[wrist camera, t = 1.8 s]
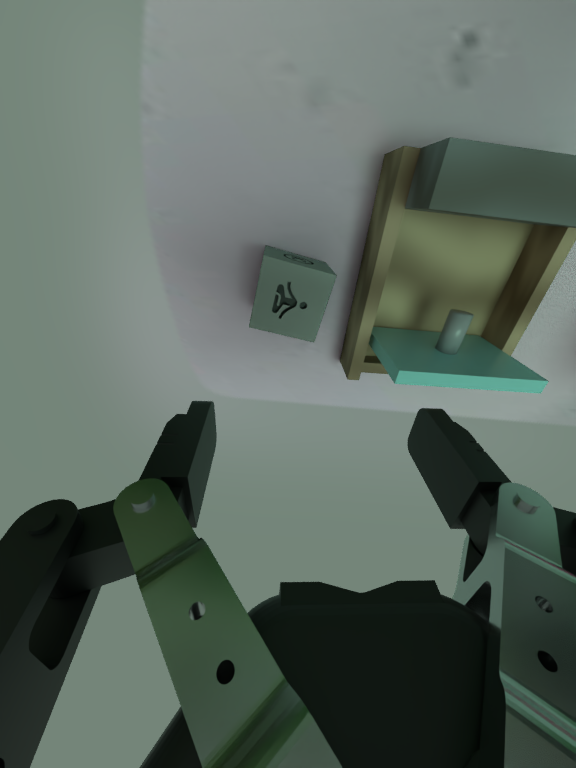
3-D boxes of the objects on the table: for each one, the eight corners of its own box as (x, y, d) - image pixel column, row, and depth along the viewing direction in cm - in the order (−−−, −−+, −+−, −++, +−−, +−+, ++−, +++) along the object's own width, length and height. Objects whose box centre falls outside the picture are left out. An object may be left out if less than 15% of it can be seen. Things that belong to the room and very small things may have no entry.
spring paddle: (375, 291, 24) (414, 326, 17) (494, 303, 25) (575, 340, 18) (363, 336, 26) (394, 383, 19) (474, 345, 27) (540, 393, 20)
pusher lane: (384, 154, 20) (430, 134, 14) (563, 178, 21) (676, 169, 15) (339, 360, 28) (356, 402, 23) (469, 369, 30) (518, 411, 24)
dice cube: (265, 245, 23) (263, 255, 19) (325, 262, 24) (336, 275, 19) (253, 306, 25) (248, 327, 21) (307, 319, 26) (314, 342, 22)
